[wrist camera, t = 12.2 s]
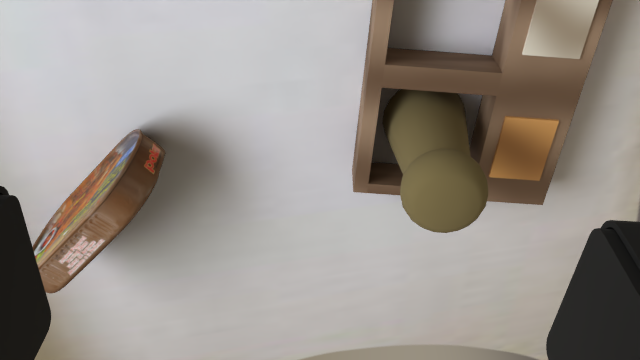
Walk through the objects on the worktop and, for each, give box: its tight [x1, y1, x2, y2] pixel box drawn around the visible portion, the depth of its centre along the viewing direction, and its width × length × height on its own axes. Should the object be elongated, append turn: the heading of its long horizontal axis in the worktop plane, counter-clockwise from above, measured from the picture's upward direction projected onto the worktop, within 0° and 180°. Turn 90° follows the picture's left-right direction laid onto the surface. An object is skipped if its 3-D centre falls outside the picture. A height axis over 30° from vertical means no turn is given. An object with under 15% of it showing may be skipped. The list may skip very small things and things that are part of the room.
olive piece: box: [382, 89, 488, 233], centre depth 39 cm, size 6×6×11 cm
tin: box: [32, 129, 165, 293], centre depth 44 cm, size 15×3×8 cm, turn 135°
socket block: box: [352, 0, 613, 205], centre depth 40 cm, size 18×14×3 cm
